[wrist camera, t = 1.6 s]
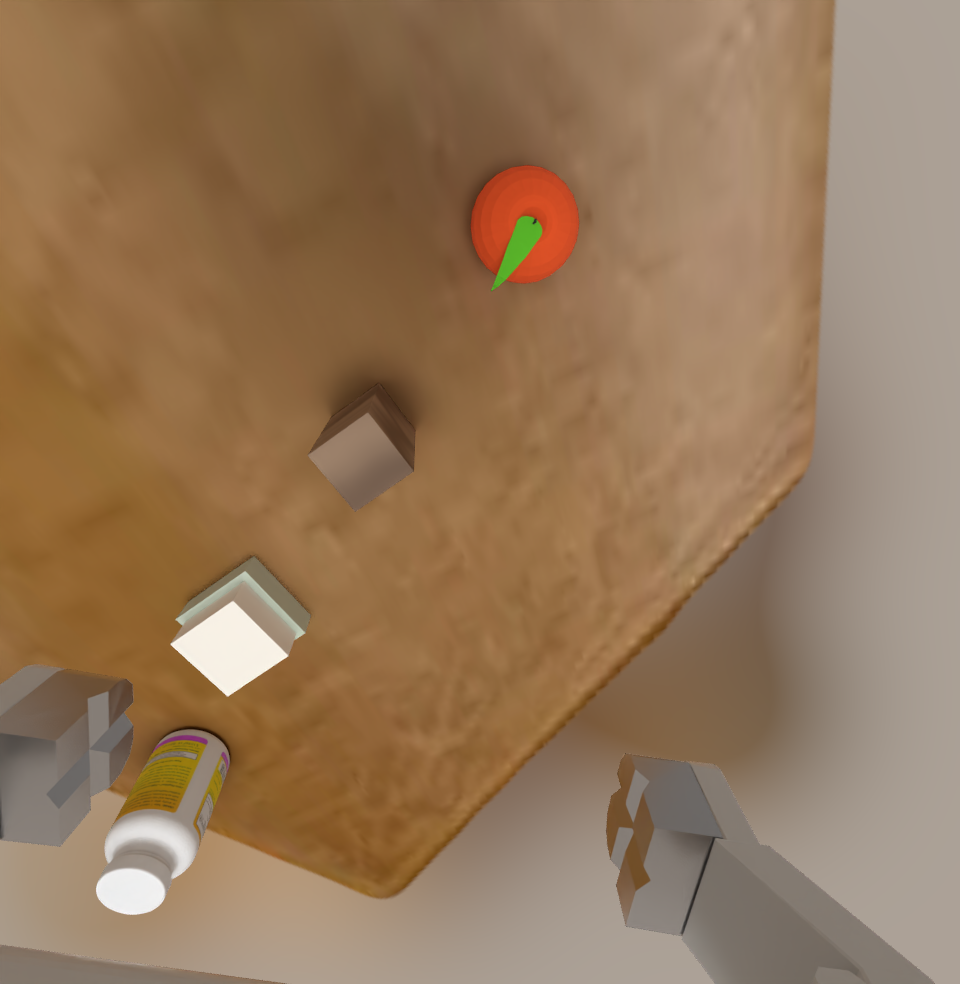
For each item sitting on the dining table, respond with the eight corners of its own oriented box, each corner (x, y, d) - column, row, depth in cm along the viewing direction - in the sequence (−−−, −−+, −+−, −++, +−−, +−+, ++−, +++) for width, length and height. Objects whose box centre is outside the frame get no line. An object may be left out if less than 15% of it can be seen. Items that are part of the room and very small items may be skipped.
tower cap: (185, 621, 47) (170, 644, 44) (244, 580, 46) (233, 600, 43) (238, 672, 49) (227, 696, 46) (296, 633, 48) (288, 655, 45)
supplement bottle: (139, 750, 54) (57, 888, 42) (196, 713, 53) (130, 843, 41) (192, 794, 56) (129, 937, 44) (247, 759, 55) (199, 895, 43)
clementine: (525, 314, 44) (544, 321, 37) (441, 264, 42) (445, 263, 35) (584, 209, 42) (614, 197, 35) (498, 152, 40) (513, 128, 33)
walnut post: (331, 417, 45) (307, 455, 36) (379, 382, 44) (367, 412, 35) (368, 463, 46) (355, 511, 37) (415, 430, 46) (413, 471, 36)
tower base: (189, 599, 49) (175, 619, 47) (255, 553, 48) (245, 571, 46) (248, 655, 52) (238, 677, 49) (311, 613, 51) (305, 632, 48)
